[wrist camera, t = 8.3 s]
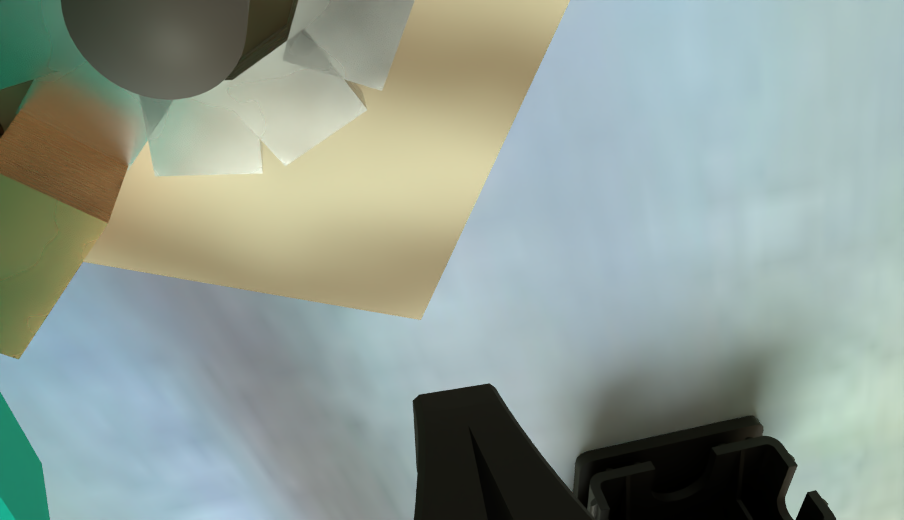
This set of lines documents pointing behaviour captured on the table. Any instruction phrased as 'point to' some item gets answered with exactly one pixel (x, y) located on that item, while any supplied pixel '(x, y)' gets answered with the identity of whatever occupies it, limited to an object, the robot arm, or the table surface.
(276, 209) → the board
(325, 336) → the table surface
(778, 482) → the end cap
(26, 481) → the table top decor
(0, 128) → the dowel
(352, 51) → the flange
